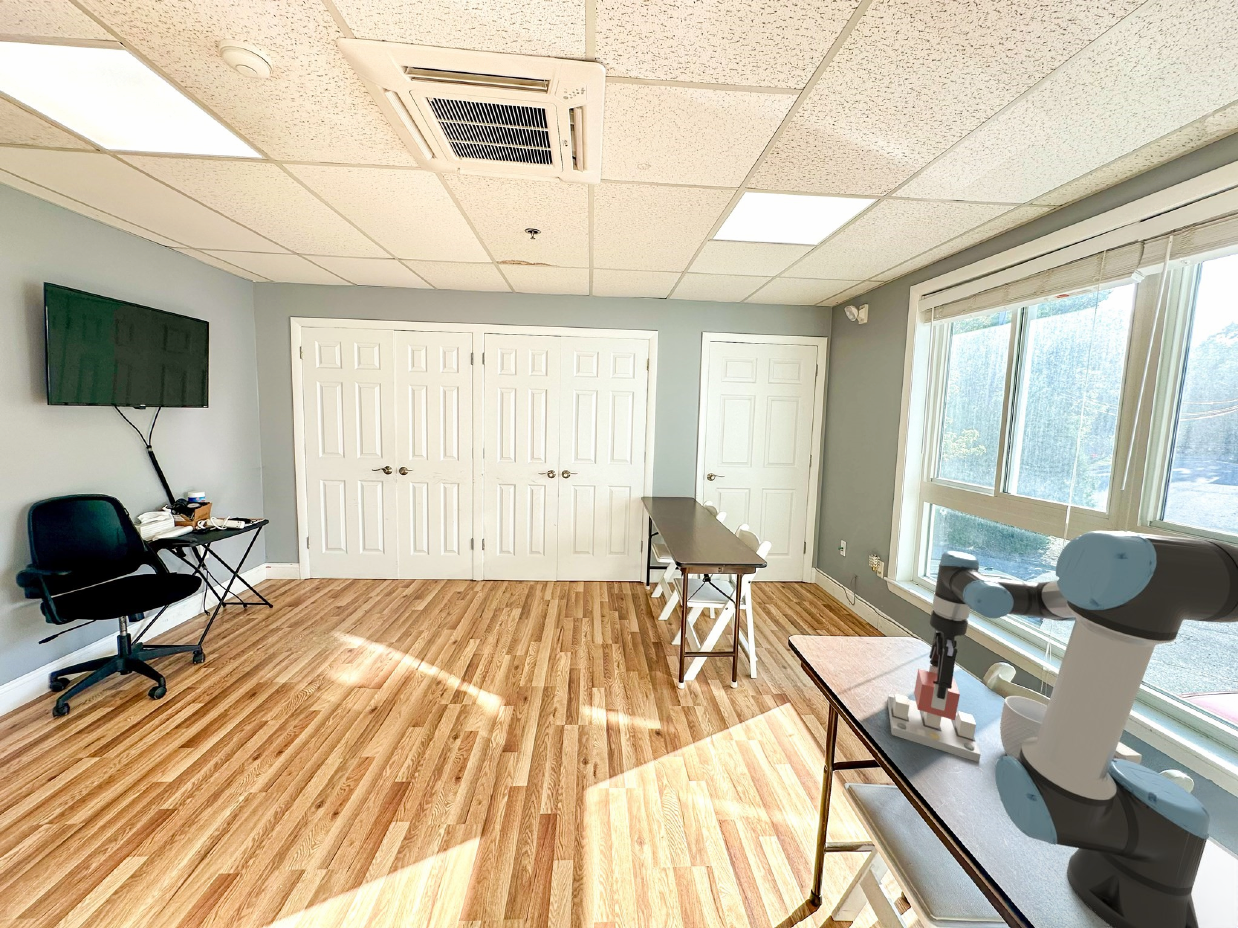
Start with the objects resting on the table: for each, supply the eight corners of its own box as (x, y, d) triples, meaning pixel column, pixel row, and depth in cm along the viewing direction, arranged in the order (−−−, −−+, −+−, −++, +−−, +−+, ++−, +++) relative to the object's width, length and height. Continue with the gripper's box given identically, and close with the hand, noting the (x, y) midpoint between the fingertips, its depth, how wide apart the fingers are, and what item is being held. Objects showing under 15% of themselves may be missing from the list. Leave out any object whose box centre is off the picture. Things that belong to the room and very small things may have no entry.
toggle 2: (939, 728, 120) (941, 714, 119) (925, 724, 121) (927, 710, 120) (936, 719, 123) (939, 705, 123) (923, 715, 125) (925, 701, 124)
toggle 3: (973, 739, 117) (976, 724, 116) (958, 734, 118) (961, 720, 117) (969, 729, 120) (972, 715, 120) (955, 725, 122) (958, 711, 121)
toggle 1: (907, 719, 123) (909, 705, 122) (893, 715, 124) (896, 701, 123) (905, 710, 126) (907, 696, 126) (892, 707, 127) (894, 693, 127)
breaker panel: (979, 761, 112) (980, 753, 112) (891, 734, 120) (893, 726, 120) (964, 722, 127) (966, 714, 126) (887, 699, 134) (888, 692, 134)
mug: (1083, 778, 109) (1095, 726, 107) (1068, 798, 103) (1081, 743, 101) (1004, 737, 122) (1014, 690, 120) (987, 753, 115) (996, 703, 114)
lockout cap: (954, 720, 117) (959, 694, 116) (917, 709, 120) (922, 683, 119) (949, 702, 123) (953, 677, 122) (914, 692, 127) (918, 668, 126)
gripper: (978, 636, 107) (960, 728, 111) (959, 602, 126) (945, 682, 129) (938, 627, 110) (923, 717, 114) (926, 595, 129) (912, 674, 132)
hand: (934, 698), depth 121 cm, fingers closed on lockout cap, 8 cm apart
